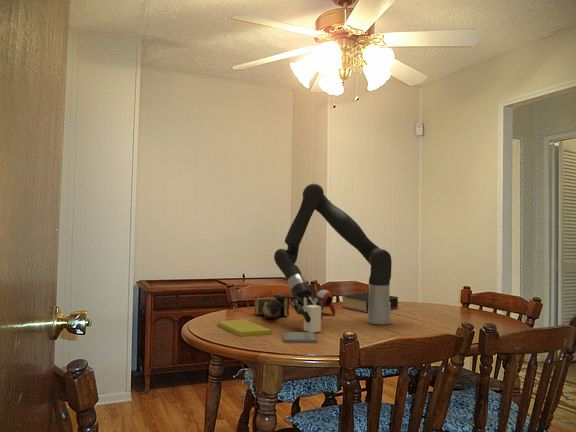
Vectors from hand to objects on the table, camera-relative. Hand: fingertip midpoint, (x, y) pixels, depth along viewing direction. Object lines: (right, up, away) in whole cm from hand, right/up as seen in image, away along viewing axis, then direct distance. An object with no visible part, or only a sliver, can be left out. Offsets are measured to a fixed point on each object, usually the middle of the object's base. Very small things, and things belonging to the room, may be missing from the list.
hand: (315, 320), depth 179 cm
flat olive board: (-29, -5, +1) cm, 29 cm away
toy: (+4, -6, +41) cm, 42 cm away
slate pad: (-7, -4, -11) cm, 13 cm away
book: (+33, -8, +60) cm, 69 cm away
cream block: (-1, -4, +1) cm, 5 cm away
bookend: (-18, -5, +28) cm, 34 cm away
